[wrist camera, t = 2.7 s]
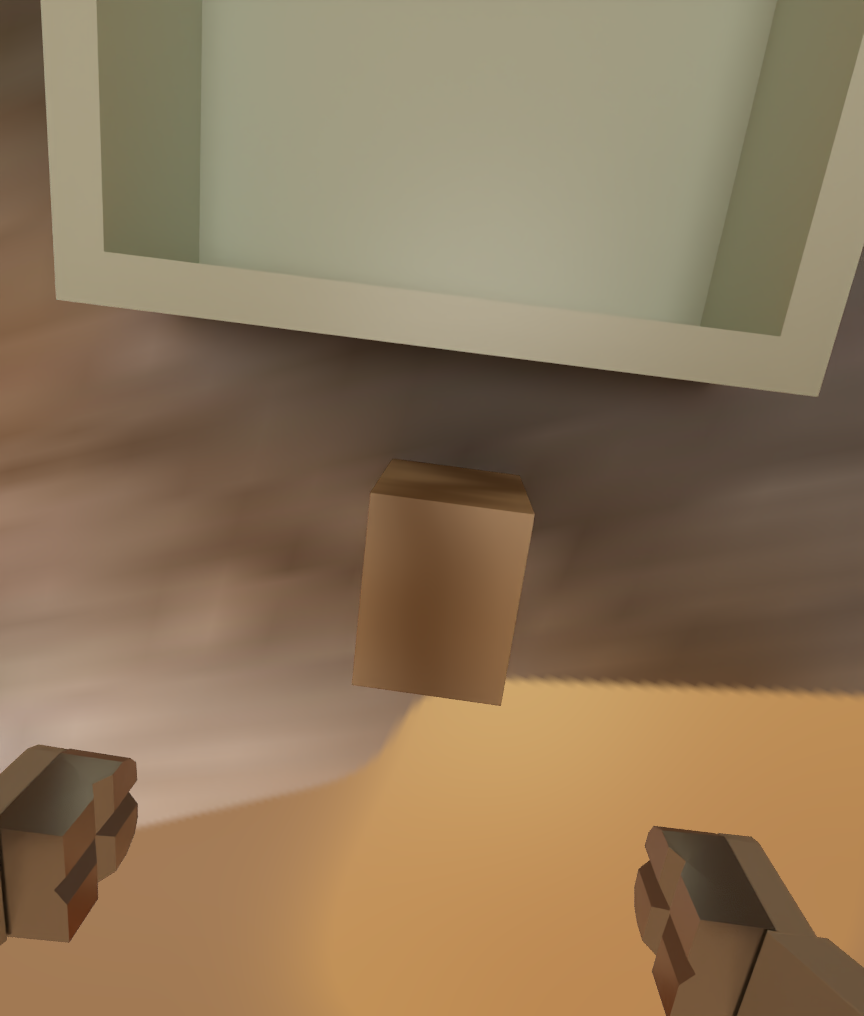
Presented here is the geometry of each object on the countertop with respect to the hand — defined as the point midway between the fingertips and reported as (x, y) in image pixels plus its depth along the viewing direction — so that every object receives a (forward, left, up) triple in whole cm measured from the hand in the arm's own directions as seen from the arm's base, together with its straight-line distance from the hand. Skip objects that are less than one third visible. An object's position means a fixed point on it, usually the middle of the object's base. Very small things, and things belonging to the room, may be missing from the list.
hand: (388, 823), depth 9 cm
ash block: (0, 0, -13) cm, 13 cm away
